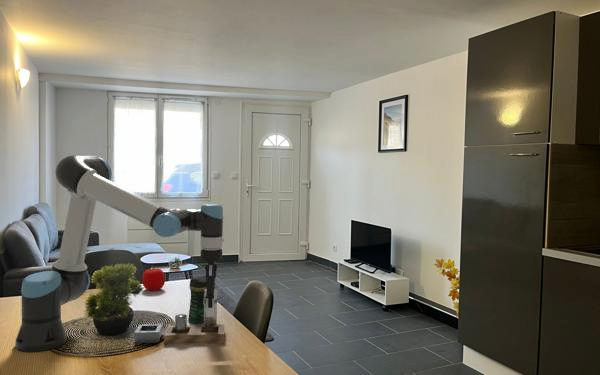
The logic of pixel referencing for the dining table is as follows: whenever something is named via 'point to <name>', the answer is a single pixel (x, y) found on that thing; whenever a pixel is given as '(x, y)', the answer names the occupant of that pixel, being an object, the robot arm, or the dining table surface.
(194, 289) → the coffee jar
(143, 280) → the tomato
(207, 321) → the grey metal cylinder
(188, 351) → the dining table surface
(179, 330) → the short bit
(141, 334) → the socket block
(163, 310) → the dining table surface
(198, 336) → the rack
